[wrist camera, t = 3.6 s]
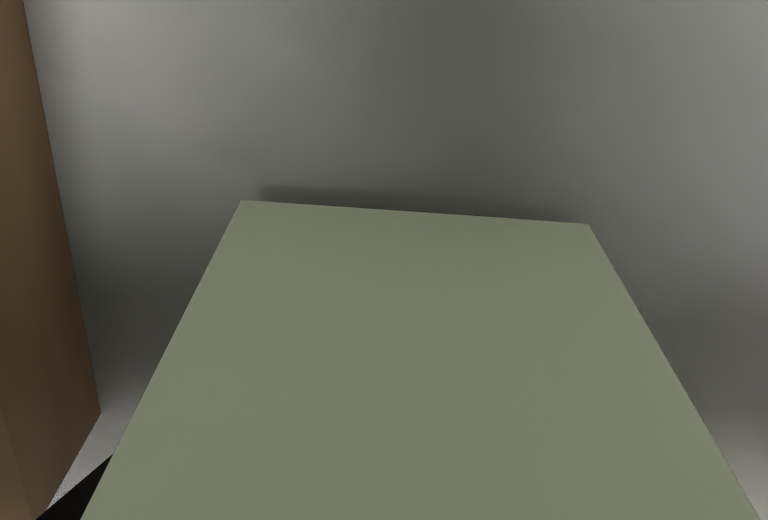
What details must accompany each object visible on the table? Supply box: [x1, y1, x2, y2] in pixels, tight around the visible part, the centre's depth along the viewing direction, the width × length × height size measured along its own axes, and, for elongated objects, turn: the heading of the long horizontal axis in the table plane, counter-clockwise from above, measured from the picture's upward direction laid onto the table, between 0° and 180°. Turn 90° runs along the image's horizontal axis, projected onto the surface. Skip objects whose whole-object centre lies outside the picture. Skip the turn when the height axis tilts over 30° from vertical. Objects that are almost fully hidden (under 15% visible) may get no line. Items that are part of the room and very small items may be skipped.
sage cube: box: [80, 200, 760, 520], centre depth 8 cm, size 5×5×6 cm
